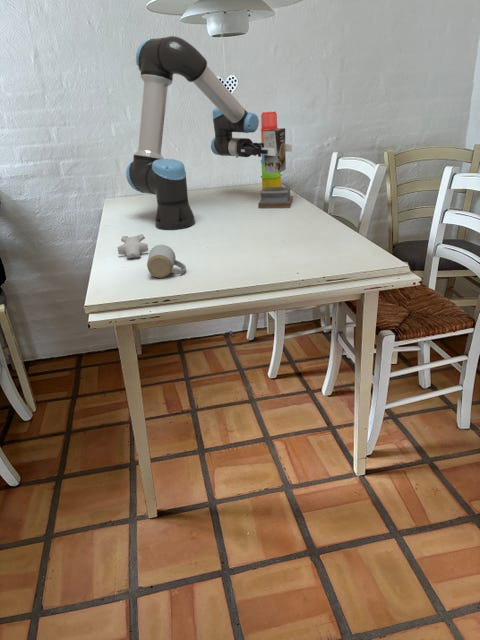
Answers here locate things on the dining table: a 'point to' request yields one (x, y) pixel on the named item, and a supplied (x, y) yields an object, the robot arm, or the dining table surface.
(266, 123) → the stacking cups
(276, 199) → the tower stand
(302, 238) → the dining table surface
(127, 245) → the grey teddy bear
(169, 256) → the ceramic mug
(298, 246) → the dining table surface
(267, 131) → the coffee box
